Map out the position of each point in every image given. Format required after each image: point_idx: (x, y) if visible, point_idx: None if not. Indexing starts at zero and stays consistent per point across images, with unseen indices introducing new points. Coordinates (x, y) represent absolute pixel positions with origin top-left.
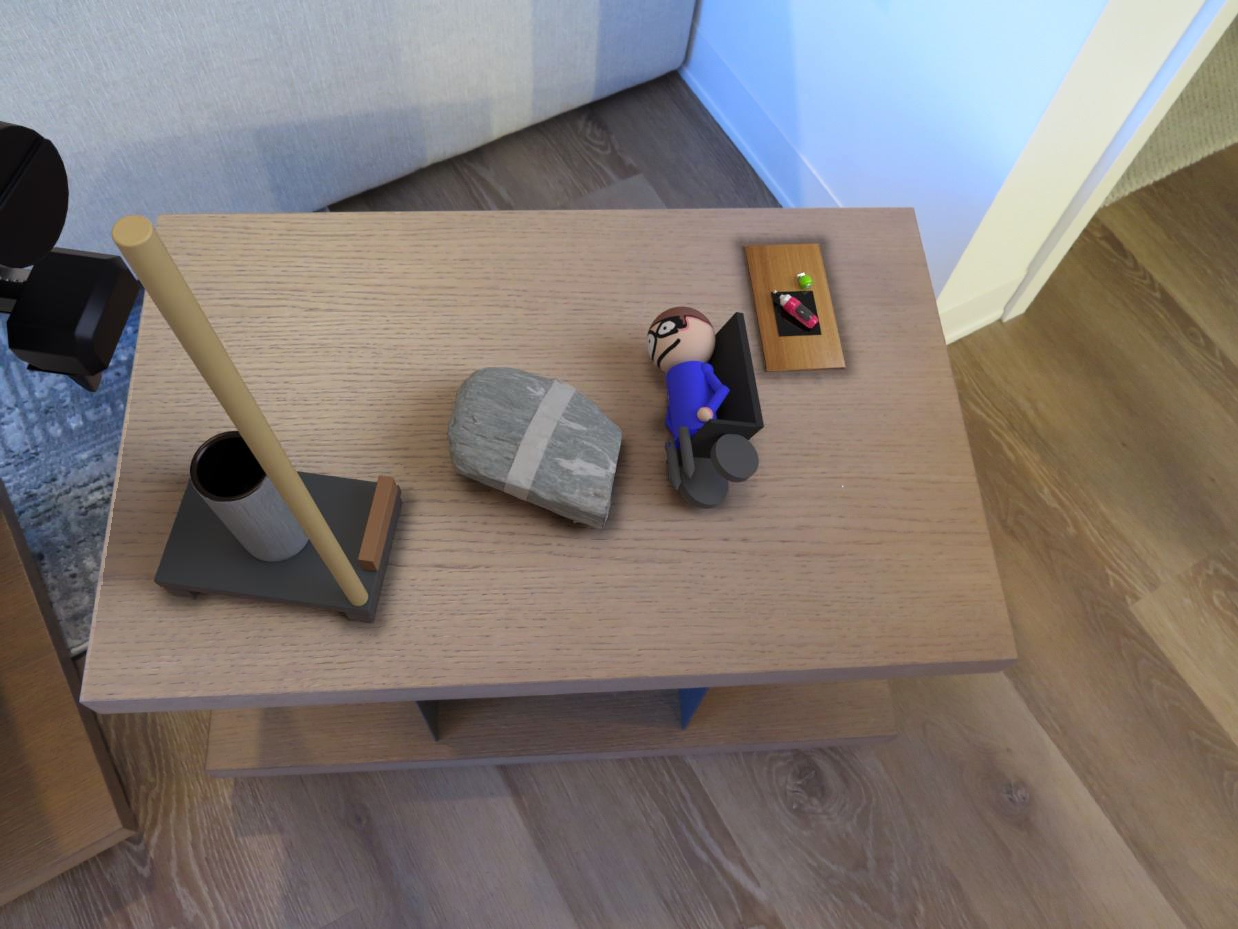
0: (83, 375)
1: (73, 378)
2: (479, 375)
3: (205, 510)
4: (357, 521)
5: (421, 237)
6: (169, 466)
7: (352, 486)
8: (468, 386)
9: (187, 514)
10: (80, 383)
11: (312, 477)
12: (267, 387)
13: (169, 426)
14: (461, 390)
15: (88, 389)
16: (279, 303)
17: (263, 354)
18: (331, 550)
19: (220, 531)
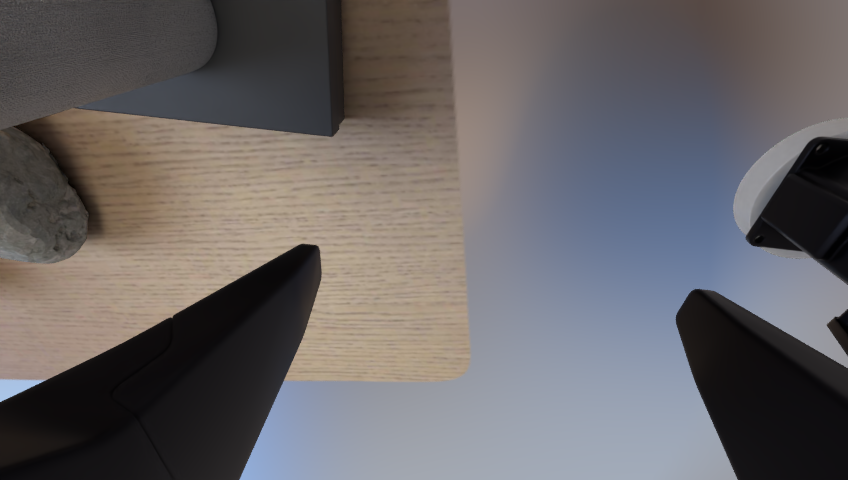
0: (168, 318)
1: (249, 297)
2: (22, 256)
3: (287, 45)
4: None
5: None
6: (404, 129)
7: (102, 99)
8: (5, 244)
9: (311, 36)
10: (276, 274)
11: (163, 111)
12: (322, 232)
13: (418, 183)
14: (15, 238)
15: (298, 252)
16: (343, 316)
17: (340, 267)
18: None
19: (248, 5)
